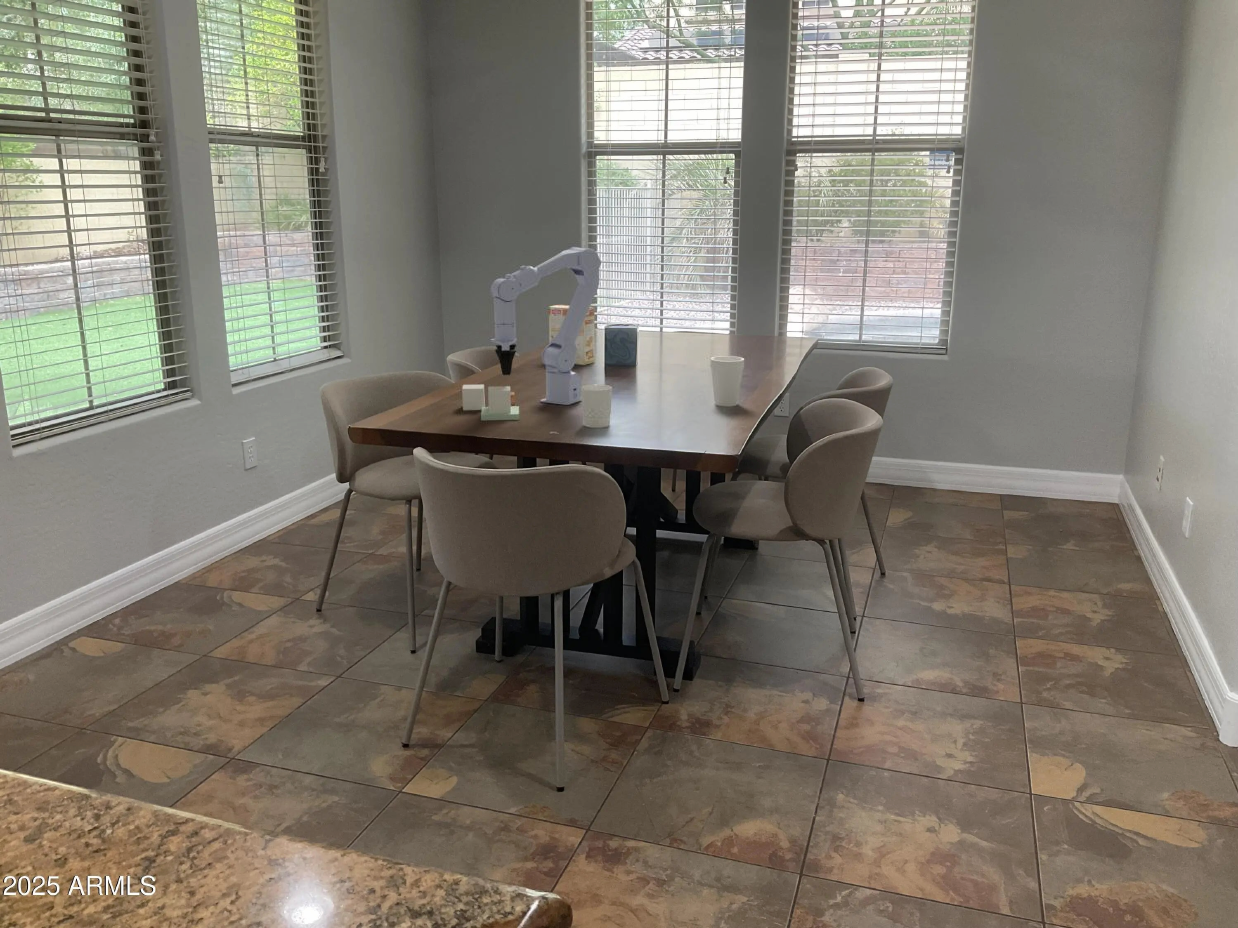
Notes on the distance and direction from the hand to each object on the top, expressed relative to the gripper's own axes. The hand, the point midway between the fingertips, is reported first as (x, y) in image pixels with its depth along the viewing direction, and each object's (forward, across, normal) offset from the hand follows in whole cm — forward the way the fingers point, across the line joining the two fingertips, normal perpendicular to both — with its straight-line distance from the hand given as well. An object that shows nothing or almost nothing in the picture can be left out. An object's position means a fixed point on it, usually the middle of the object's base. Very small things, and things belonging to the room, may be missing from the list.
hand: (506, 372), depth 278 cm
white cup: (+10, +24, +23) cm, 35 cm away
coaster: (+10, +11, -2) cm, 15 cm away
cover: (+10, 0, -9) cm, 14 cm away
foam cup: (+10, +2, +62) cm, 63 cm away
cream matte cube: (+8, +11, -2) cm, 14 cm away
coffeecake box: (+10, -73, +22) cm, 77 cm away
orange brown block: (+10, 0, 0) cm, 10 cm away
